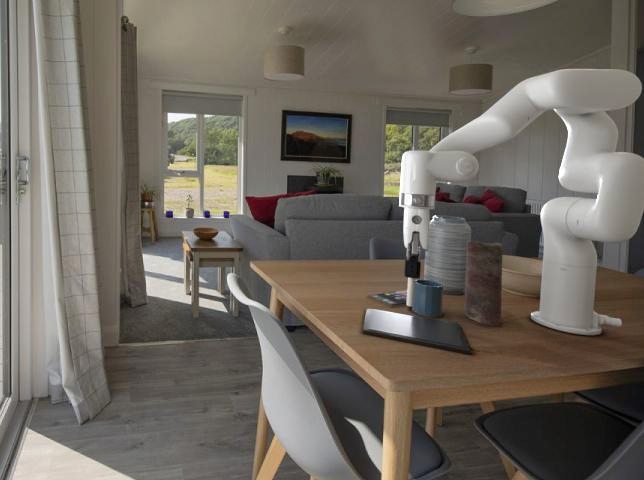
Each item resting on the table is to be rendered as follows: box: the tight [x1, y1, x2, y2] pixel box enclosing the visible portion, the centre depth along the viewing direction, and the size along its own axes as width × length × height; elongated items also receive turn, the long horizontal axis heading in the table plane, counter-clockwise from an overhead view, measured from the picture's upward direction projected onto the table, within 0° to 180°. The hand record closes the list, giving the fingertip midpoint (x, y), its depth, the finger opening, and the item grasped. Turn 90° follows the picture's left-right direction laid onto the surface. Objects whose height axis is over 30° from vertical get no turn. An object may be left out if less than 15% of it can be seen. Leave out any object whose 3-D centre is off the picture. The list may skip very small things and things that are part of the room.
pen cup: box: [412, 278, 444, 317], centre depth 102 cm, size 7×7×8 cm
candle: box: [464, 240, 504, 326], centre depth 97 cm, size 8×7×20 cm
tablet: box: [362, 307, 472, 355], centre depth 91 cm, size 20×16×1 cm
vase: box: [423, 215, 472, 296], centre depth 122 cm, size 12×12×23 cm
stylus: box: [405, 277, 416, 312], centre depth 96 cm, size 2×2×14 cm
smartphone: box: [368, 289, 407, 306], centre depth 112 cm, size 8×15×1 cm, turn 111°
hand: (411, 276), depth 96 cm, fingers closed on stylus, 1 cm apart
